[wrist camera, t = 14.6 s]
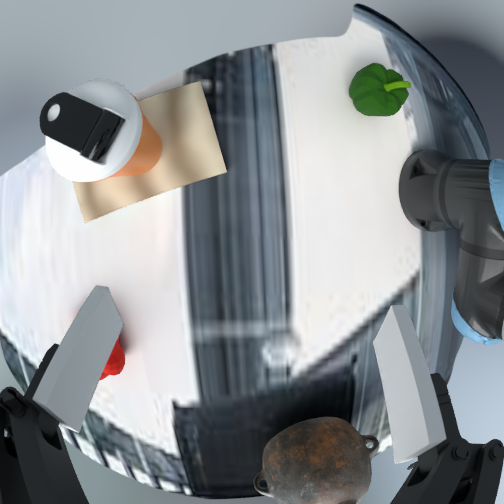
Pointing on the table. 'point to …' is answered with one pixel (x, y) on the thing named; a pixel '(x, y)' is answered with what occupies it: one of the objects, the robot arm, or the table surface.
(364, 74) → the bell pepper
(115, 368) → the tomato
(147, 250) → the table surface
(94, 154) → the shaker bottle
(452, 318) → the robot arm
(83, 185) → the oak board
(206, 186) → the table surface
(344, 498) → the jug
